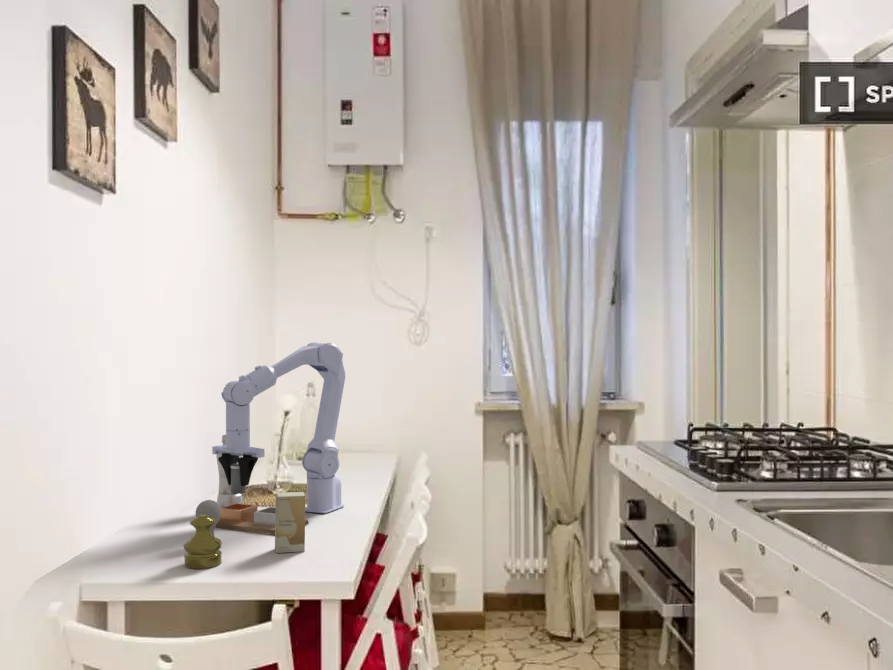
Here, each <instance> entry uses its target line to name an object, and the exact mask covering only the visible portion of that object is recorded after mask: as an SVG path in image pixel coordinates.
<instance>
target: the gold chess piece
mask: <svg viewBox="0 0 893 670" xmlns="http://www.w3.org/2000/svg"><path fill="white" fill-rule="evenodd" d="M214 523H215V519H214V518H212V517H209V516H207V515H199V516H198V517H196V516H195V517H194V518H192V519H191V520H189V524H190V526H192V527H193V528H194V529H195V533H194V535H192V536H191V537H190V539H188V540H187V541H186V542H184V544H183V549H184V551H185V552H186V553H185V554H184V555H183V557H184V558H183V559H184V567H186V568H188V569H193V570H202V569H201V568H205V569H209V567H211V568H214V566H215V567H218V566H219V565H220V564H222V560H223V559H222V554H223V552H222V551H221V550H220V549H221V548H222V544H223V542H222V541H221V539H220V538H217V537H216V536H215V534H214V535H213V534H212V533H211V532H210V527H211V526H212V525H213V524H214Z"/></svg>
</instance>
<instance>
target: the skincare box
mask: <svg viewBox="0 0 893 670" xmlns="http://www.w3.org/2000/svg"><path fill="white" fill-rule="evenodd" d="M275 507H276V516H275V535H274V551H275V553H276V554H282V553H299V552H303V553H304V552H305V551H306V550H305V546H306V545H305V543H306V539H305V537H306V532H305V531H306V525H305V520H306V512H305V507H306V493H305V492H304V491H298V492H296V491H295V492H294V491H293V492H292V491H290V492H289V491H288V492H276V493H275Z"/></svg>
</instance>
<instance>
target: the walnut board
mask: <svg viewBox="0 0 893 670" xmlns="http://www.w3.org/2000/svg"><path fill="white" fill-rule="evenodd" d="M308 525H309V519H305V526H308ZM215 528H218V529H224V530H225V529H226V530H233V531H242V532H250V533H257V534H266V535H274V536H275V527H270V526H262V525H254V519H251V520H248V521H245V522H242V523H236V522H228V521H218V522H217V524H216V526H215ZM215 528H214V529H215Z"/></svg>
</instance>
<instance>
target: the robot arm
mask: <svg viewBox="0 0 893 670" xmlns="http://www.w3.org/2000/svg"><path fill="white" fill-rule="evenodd" d="M343 357H344V353H343V352H342V351H341V349H340V348H339V346H338V345H337V344H335V343H333V342H327V343H325V342H323V343H321V342H320V343H319V342H311V343H308V344H306V345H304V346H300V347H299V348H298V349H296V350H295V351H294V352H292V353H291V354H289V355H287V356H286V357H284V358H282V359H281V360H279V361H278V362H276V363H275V364H272V365H271V366H268V365H257V366H255V367H254V370H253V371H251V372H249V373H247V374H245V375H240V376H238V380H233V381H229V382H228V383H226V384H225V386H224V387H223V389H222V390H223V391H222V392H221V398H222V400H223V401H224V402H225V435H226V446H222V445H214V446H212V447H211V448H212V453H211V454H212V455H217V454H222V456H221V457H219V458H218V460H219V462H220V463H221V465H222V467H223V469H224V472H225V475H226V478H227V482H228V485H231V464H235V463H238V464H239V468H240V478H241V486H249V484H250V481H251V476H252V473H253V470H254V467H255V466H256V464H257V462H258V460H259V459H260V458H261V459H262V458H264V457H265V448H259V447H253V446H251V421H250V420H251V414H250V413H251V411H250V410H251V408H250V403H252V402H253V400H254V397H256V396H258V395H260V394H262V393H263V392H265V391H267V390H269V389H271V388H272V387H273V386H275V385H276V383H277V380H278V378H281V377H282V376H284V375H286V374H288V373H290V372H292V371H294V370H296V369H297V368H300V367H301V366H304V365H305V366H309V367H311V368H312V369H314V370H316V371H317V373H318V374H319V375H320V376H321V378H322V379H323V384H322V389H321V394H320V395H321V396H320V402H319V406H318V413H317V419H316V424H315V431H314V434H313V435H314V436H313V438H312V439H311V440H310V442H309V443H308V445H307V449H306V451H305V453H304V454H303V456H302V459H301V465H302V467H303V468H304V470H305V471H306V506H305V513H306V512H308V513H314V514H315V513H317V514H328V513H330V512H333V511H335V510H338V509H341V508H344V507H345V504H342V481H341V479H340V477H339V476H338V475H337V474H336V473H337V472H338V470H339V468H340V459H339V451H340V450H339V448H338V445H337V443H336V442H335V439H336V432H337V427H338V421H339V416H340V411H341V410H340V409H341V404H342V398H343V392H344V388H345V381H346V371H345V367H344V362H343ZM239 456H242V457H240V458H239Z"/></svg>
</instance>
